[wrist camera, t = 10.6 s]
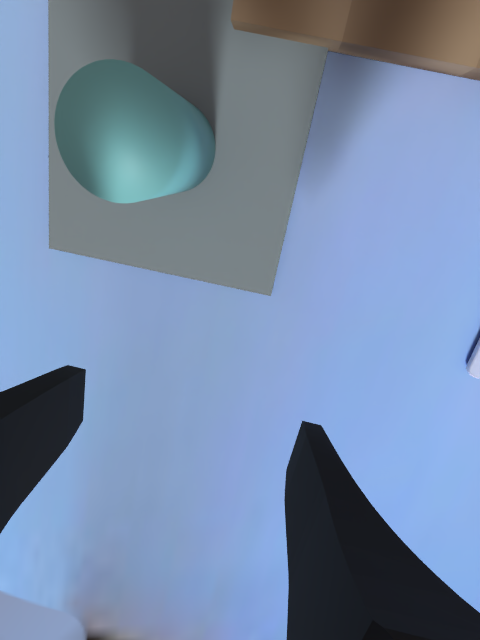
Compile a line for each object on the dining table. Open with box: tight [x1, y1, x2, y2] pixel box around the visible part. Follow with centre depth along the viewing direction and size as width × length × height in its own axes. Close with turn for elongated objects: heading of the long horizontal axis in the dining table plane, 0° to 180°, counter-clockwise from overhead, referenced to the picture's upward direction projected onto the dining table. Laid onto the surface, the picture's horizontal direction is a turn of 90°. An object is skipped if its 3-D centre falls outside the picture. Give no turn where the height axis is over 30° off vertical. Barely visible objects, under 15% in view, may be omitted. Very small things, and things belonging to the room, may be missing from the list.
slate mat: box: [48, 0, 328, 296], centre depth 18 cm, size 12×12×1 cm
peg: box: [54, 59, 216, 203], centre depth 15 cm, size 4×4×6 cm
